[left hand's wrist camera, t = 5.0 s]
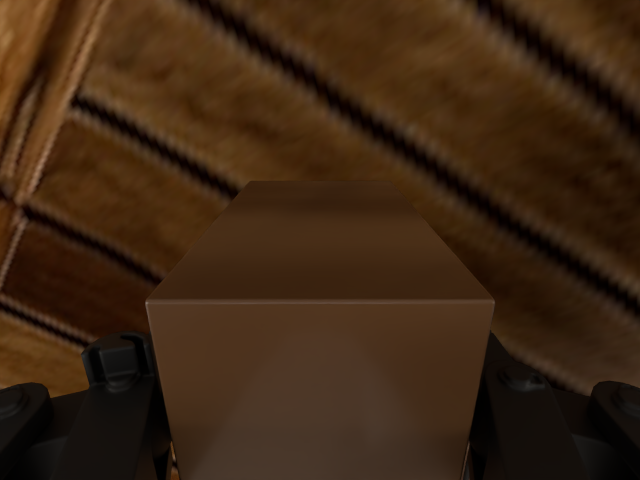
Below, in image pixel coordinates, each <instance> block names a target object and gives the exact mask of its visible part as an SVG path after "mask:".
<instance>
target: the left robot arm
mask: <svg viewBox="0 0 640 480" xmlns="http://www.w3.org/2000/svg"><path fill="white" fill-rule="evenodd" d="M81 356H82V360H83V363H84V367H85V370H86V374H87V377H88V381H89V385H90V387H89V389H88V390H84V391H81V392H76V393H72V394H67V395H63V396H58V397H54V398H50V395H49V392H48V389H47V388H46V387H45V386H44V385H42V384H39V383H32V382H31V383H23V384H17V385H14V386H11V387H8V388H5V389H2V390H0V480H170V479H171V470H172V460H173V458H172V451H171V446H170V443H171V441H172V438H171V433H170V427H169V422H168V417H167V412H166V407H165V402H164V397H163V392H162V386H161V381H160V376H159V371H158V366H157V361H156V356H155V351H154V346H153V340H152V335H151V330H150V332H149V334H147V335H146V334H144V333H142V332H138V331H121V332H117V333H113V334H109V335H107V336H105V337H102V338H100V339H98V340H96V341H95V342H93V343H92V344H90V345H89V346H87V348H86V349H85V350H84V351H83V352H82V354H81ZM469 441H470V446H469V451H468V456H467V461H466V466H465V471H464V477H463V480H469V478H470V480H640V388H638V387H635V386H631V385H629V384H625V383H621V382H614V381H605V382H599V383H598V384H596V385H595V386H594V387H593V390H592V393H591V396H590V397H589V396H585V395H580V394H576V393H571V392H567V391H562V390H558V389H555V388H551V386H550V384H549V383H548V381H547V380H546V379H545V377H544V376H542V375H541V374H540V373H539V372H537V371H536V370H535V369H533V368H531V367H529V366H527V365H525V364H522V363H519V362H515V361H513V359H512V358H511V357H510V355H509V354H508V352H507V351H506V350H505V348H504V347H503V346H502V344H501V343H500V342H499V340H498V339H497V338H496V336H495V335H494V334H493V333H491V330H490V333H489V338H488V343H487V348H486V354H485V359H484V364H483V369H482V374H481V379H480V384H479V389H478V394H477V399H476V404H475V409H474V415H473V420H472V425H471V430H470V435H469Z"/></svg>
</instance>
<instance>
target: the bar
mask: <svg viewBox="0 0 640 480" xmlns="http://www.w3.org/2000/svg"><path fill="white" fill-rule="evenodd" d="M145 305H146V310H147V315H148V320H149V325H150V330H151V335H152V340H153V346H154V351H155V356H156V361H157V366H158V371H159V376H160V381H161V386H162V392H163V397H164V402H165V407H166V412H167V417H168V422H169V427H170V433H171V438H172V443H173V448H174V453H175V458H176V463H177V468H178V474H179V479H180V480H461V476H462V471H463V465H464V460H465V455H466V450H467V445H468V440H469V435H470V430H471V425H472V420H473V415H474V409H475V404H476V399H477V394H478V389H479V384H480V379H481V374H482V369H483V364H484V359H485V354H486V348H487V343H488V338H489V333H490V328H491V323H492V318H493V313H494V308H495V300H494V298H493V297H492V296H491V295H490V294H489V293H488V292H487V290H486V289H485V288H484V287H483V286H482V285H481V284H480V283H479V281H478V280H477V279H476V278H475V277H474V276H473V275H472V273H471V272H470V271H469V270H468V269H467V268H466V267H465V265H464V264H463V263H462V262H461V261H460V260H459V259H458V257H457V256H456V255H455V254H454V253H453V252H452V251H451V249H450V248H449V247H448V246H447V245H446V244H445V243H444V242H443V240H442V239H441V238H440V237H439V236H438V235H437V234H436V232H435V231H434V230H433V229H432V228H431V227H430V226H429V224H428V223H427V222H426V221H425V220H424V219H423V218H422V216H421V215H420V214H419V213H418V212H417V211H416V210H415V209H414V207H413V206H412V205H411V204H410V203H409V202H408V201H407V199H406V198H405V197H404V196H403V195H402V194H401V193H400V191H399V190H398V189H397V188H396V187H395V186H394V185H393V183H392V182H391V181H250V182H249V183H248V184H247V185H246V186H245V187H244V188H243V189H242V191H241V192H240V193H239V194H238V195H237V196H236V197H235V199H234V200H233V201H232V202H231V203H230V204H229V205H228V207H227V208H226V209H225V210H224V211H223V212H222V213H221V215H220V216H219V217H218V218H217V219H216V220H215V221H214V223H213V224H212V225H211V226H210V227H209V228H208V229H207V231H206V232H205V233H204V234H203V235H202V236H201V237H200V239H199V240H198V241H197V242H196V243H195V244H194V245H193V247H192V248H191V249H190V250H189V251H188V252H187V253H186V255H185V256H184V257H183V258H182V259H181V260H180V261H179V263H178V264H177V265H176V266H175V267H174V268H173V269H172V271H171V272H170V273H169V274H168V275H167V276H166V277H165V279H164V280H163V281H162V282H161V283H160V284H159V285H158V287H157V288H156V289H155V290H154V291H153V292H152V293H151V295H150V296H149V297H148V298H147V299H146V302H145Z"/></svg>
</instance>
